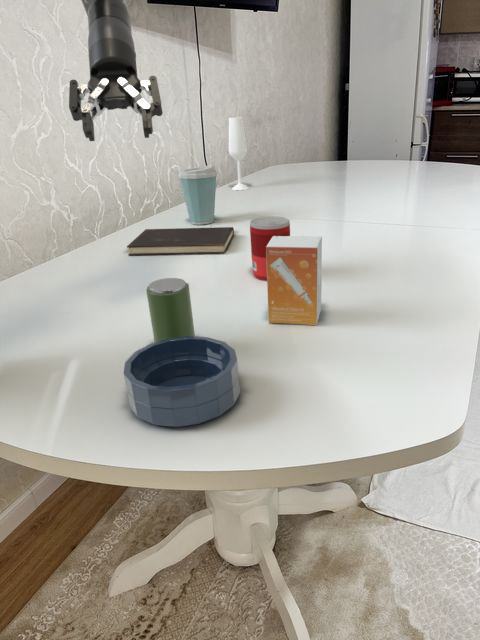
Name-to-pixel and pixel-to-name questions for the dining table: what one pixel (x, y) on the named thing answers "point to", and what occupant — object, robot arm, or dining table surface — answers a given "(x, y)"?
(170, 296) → the slim can
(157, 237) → the hardcover book
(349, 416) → the dining table surface
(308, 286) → the small box
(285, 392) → the dining table surface
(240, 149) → the champagne flute
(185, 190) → the disposable coffee cup
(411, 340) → the dining table surface
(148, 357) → the bowl
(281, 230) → the canned food
